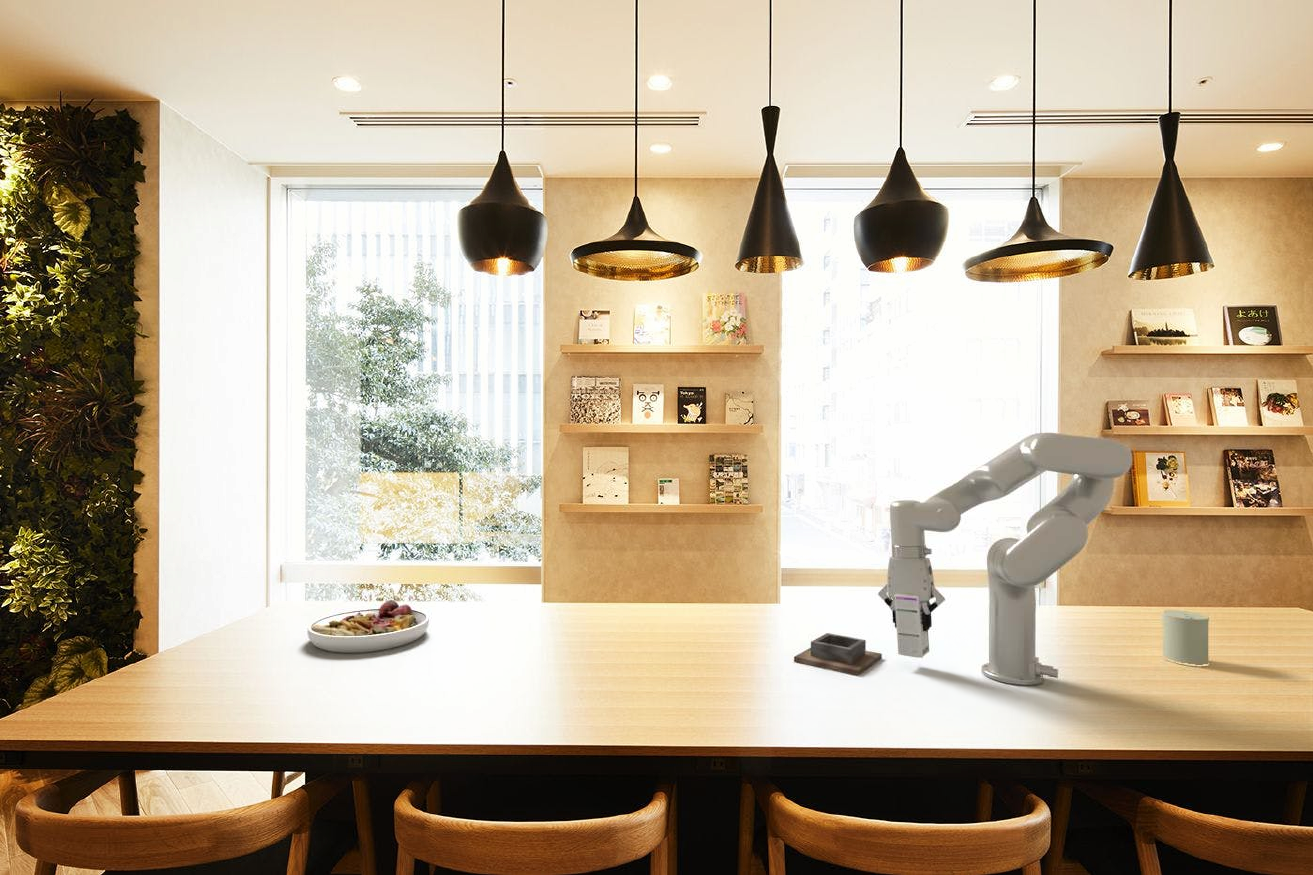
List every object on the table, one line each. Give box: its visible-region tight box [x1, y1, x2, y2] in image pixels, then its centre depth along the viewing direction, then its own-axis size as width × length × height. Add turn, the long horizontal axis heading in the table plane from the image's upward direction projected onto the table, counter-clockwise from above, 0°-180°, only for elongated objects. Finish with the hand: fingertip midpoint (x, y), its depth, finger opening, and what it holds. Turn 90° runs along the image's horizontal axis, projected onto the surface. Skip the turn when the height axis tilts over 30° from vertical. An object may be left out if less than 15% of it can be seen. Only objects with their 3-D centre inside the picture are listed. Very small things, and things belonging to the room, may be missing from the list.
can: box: [1161, 609, 1210, 665], centre depth 167 cm, size 9×9×12 cm
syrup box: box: [894, 594, 930, 659], centre depth 160 cm, size 6×6×14 cm
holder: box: [793, 632, 883, 677], centre depth 165 cm, size 16×16×5 cm
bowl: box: [307, 599, 430, 654], centre depth 181 cm, size 30×30×8 cm
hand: (912, 627), depth 160 cm, fingers closed on syrup box, 5 cm apart
